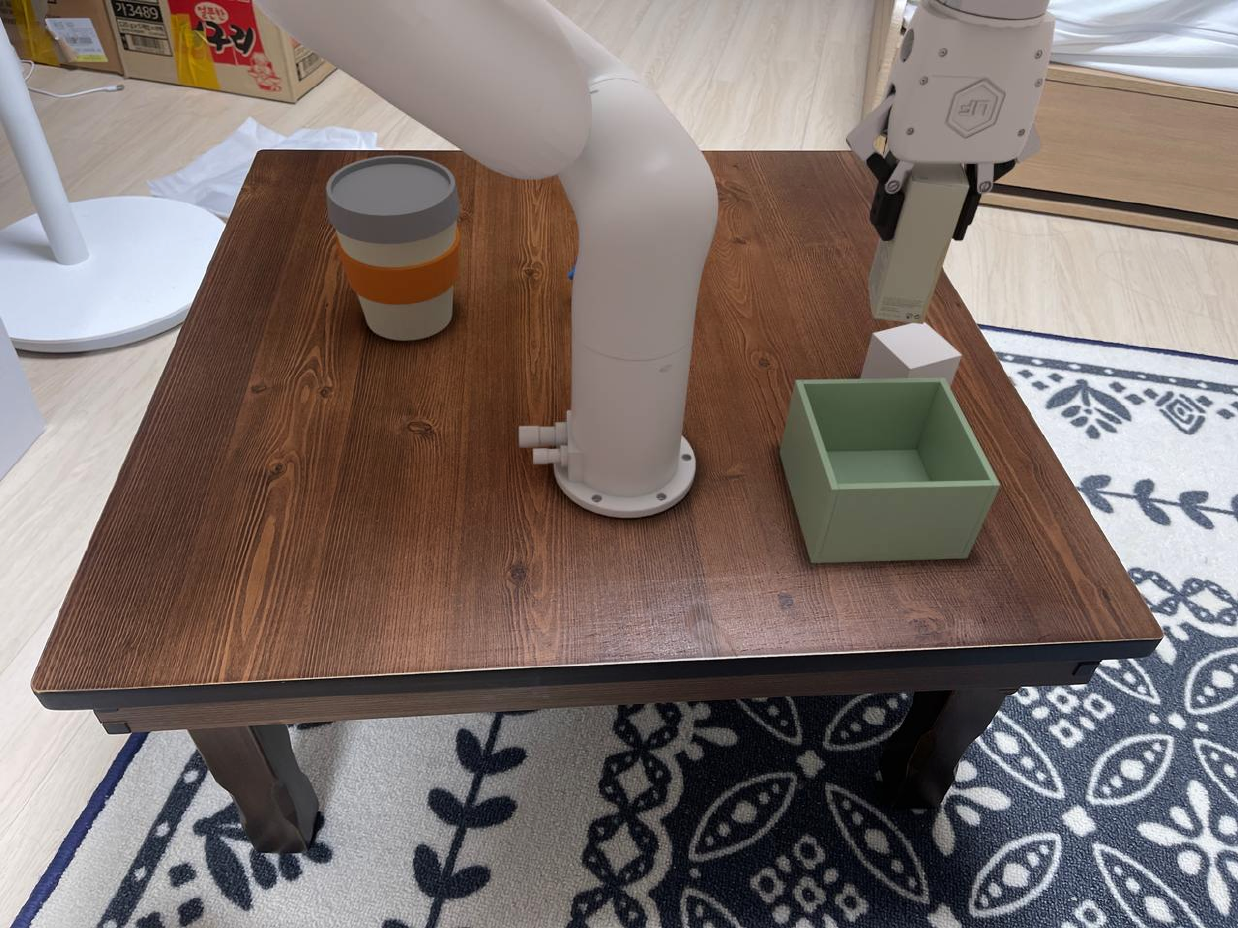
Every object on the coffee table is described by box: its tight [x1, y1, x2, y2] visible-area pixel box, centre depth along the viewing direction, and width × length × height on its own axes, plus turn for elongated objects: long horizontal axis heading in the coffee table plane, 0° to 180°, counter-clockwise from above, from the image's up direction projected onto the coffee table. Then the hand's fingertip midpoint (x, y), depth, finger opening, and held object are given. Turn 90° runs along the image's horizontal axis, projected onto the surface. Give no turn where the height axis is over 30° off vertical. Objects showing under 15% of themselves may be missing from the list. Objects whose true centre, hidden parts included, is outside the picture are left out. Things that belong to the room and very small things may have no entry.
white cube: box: [859, 321, 963, 388], centre depth 91 cm, size 6×6×6 cm
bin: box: [779, 378, 1001, 564], centre depth 78 cm, size 13×13×9 cm
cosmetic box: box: [867, 163, 969, 324], centre depth 75 cm, size 6×4×12 cm
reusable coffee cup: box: [325, 154, 461, 342], centre depth 94 cm, size 13×13×15 cm
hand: (917, 230), depth 74 cm, fingers closed on cosmetic box, 5 cm apart
